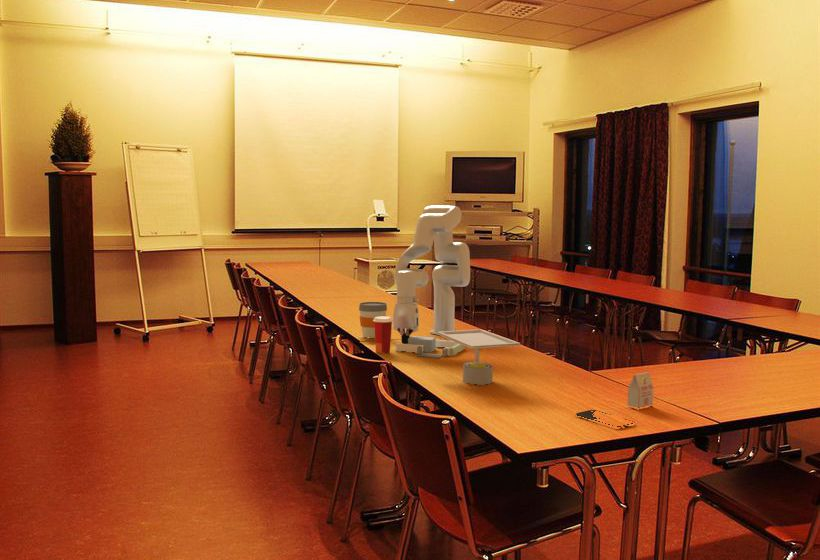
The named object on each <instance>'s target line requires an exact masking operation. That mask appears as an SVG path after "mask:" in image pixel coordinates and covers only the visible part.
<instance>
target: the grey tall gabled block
mask: <svg viewBox="0 0 820 560" xmlns="http://www.w3.org/2000/svg"><path fill="white" fill-rule="evenodd" d="M653 404H654V385H653V381H652V379H651V375H650V372H648V371H647V372H643V373H637V374H634V375H633V376H632V379H631V382H630V383H629V385H628V387H627V406H628V405H629V406H633V407H637V408H640V407H645V406H649V405H653Z"/></svg>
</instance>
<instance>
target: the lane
mask: <svg viewBox="0 0 820 560" xmlns="http://www.w3.org/2000/svg"><path fill="white" fill-rule="evenodd" d="M438 347H445V348H442V352H441V353H442V354H437V353H429V352H423V345H412V344H402V343H396V344H395V352H401V351H406V352H405V353H412V352H415V354H416V357H417V356H418V357H417V358H427V359H429V358H430V359H438V358H439V359H440V358H446V357H454V356H456V355H457V354H459V353H461V352H462V351H463V350H464V351H465V347H466V346H463V345H461V344H458V343H456V342H454V341H451V340H448V339H447V340H444V339H441V338H437V339H436V346H435V348H438ZM458 352H459V353H458ZM417 354H419V355H417ZM447 355H448V356H447ZM453 355H454V356H453ZM445 356H446V357H445Z"/></svg>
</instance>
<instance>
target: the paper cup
mask: <svg viewBox="0 0 820 560" xmlns="http://www.w3.org/2000/svg"><path fill="white" fill-rule="evenodd" d="M392 318H393V317H391V316H387V315H386V316H380V317H375V318H374V320H373V321H374V328H375V339H374V345H375V353H376V352H377V353H376V354H380V353H386V354H390V353H389V352H390V351H391V340H392V329H393V327H392V325H393V319H392Z"/></svg>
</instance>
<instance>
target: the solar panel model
mask: <svg viewBox="0 0 820 560" xmlns="http://www.w3.org/2000/svg"><path fill="white" fill-rule="evenodd" d="M436 336H440V337H443V338H445V339H447V340H448V341H454V342H456V343H458V344H461V345H463V346H465V347H466V348H468V349H471V350H474V361H468V362H465V363H463V364H462V382H463V383H465V384H467V383H469V384H468V385H472V384H477V385H476V386H486V385H485V384H488V385H491V384H493V374H494V373H493V371H494V370H493V369H494V367H493V366H494V365H492V364H491V363H488V362H481V361H480V349H486V348H503V347H504V348H505V347H520V346H521V342H518V341H515V340H513V339H510V338H507V337H504V336H501V335H499V334H496V333H493V332H491V331H487V330H484V329H481V328H480V329H479V328H478V329H466V330H464V329H463V330H457V331H441V332H437V335H436ZM490 383H491V384H490Z"/></svg>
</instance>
